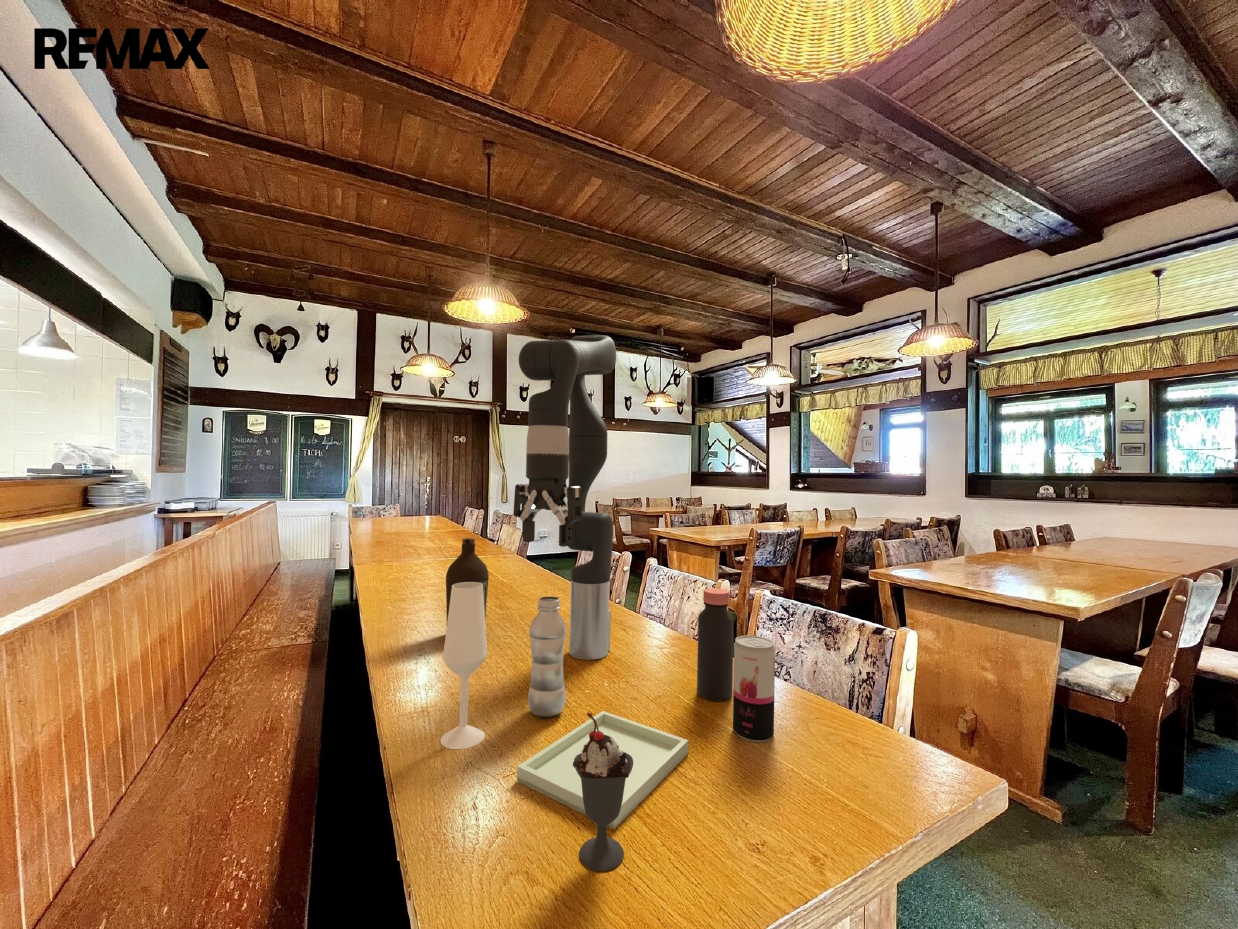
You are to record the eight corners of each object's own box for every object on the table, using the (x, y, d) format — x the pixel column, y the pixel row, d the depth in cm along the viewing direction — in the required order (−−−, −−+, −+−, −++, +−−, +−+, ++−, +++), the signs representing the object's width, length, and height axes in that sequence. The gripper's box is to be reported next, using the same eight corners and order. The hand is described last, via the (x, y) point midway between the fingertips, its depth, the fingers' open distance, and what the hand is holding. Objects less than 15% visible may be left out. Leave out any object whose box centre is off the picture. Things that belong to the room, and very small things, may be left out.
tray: (602, 722, 84) (602, 710, 84) (688, 753, 75) (688, 740, 75) (517, 781, 68) (517, 766, 68) (614, 829, 59) (614, 812, 59)
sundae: (570, 834, 58) (574, 703, 58) (628, 832, 58) (630, 702, 59) (570, 880, 51) (573, 732, 52) (634, 877, 52) (637, 731, 52)
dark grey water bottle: (739, 694, 96) (740, 591, 97) (720, 705, 92) (722, 596, 92) (709, 684, 101) (710, 585, 102) (690, 694, 96) (691, 590, 97)
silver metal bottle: (558, 724, 83) (562, 604, 84) (521, 719, 85) (524, 601, 85) (570, 707, 90) (573, 595, 90) (534, 702, 91) (537, 593, 92)
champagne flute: (438, 731, 80) (443, 582, 81) (481, 724, 83) (485, 579, 83) (441, 753, 74) (446, 591, 75) (487, 744, 77) (492, 588, 77)
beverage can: (751, 747, 77) (753, 650, 78) (724, 728, 83) (726, 638, 84) (782, 738, 81) (783, 644, 81) (754, 720, 86) (755, 633, 87)
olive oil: (436, 635, 128) (439, 538, 129) (474, 627, 136) (477, 535, 136) (455, 645, 121) (459, 542, 121) (494, 636, 128) (497, 539, 129)
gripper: (592, 453, 87) (590, 545, 87) (533, 453, 95) (532, 538, 95) (564, 451, 81) (562, 550, 81) (504, 452, 89) (502, 542, 89)
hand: (546, 543), depth 88 cm, fingers open, 8 cm apart
